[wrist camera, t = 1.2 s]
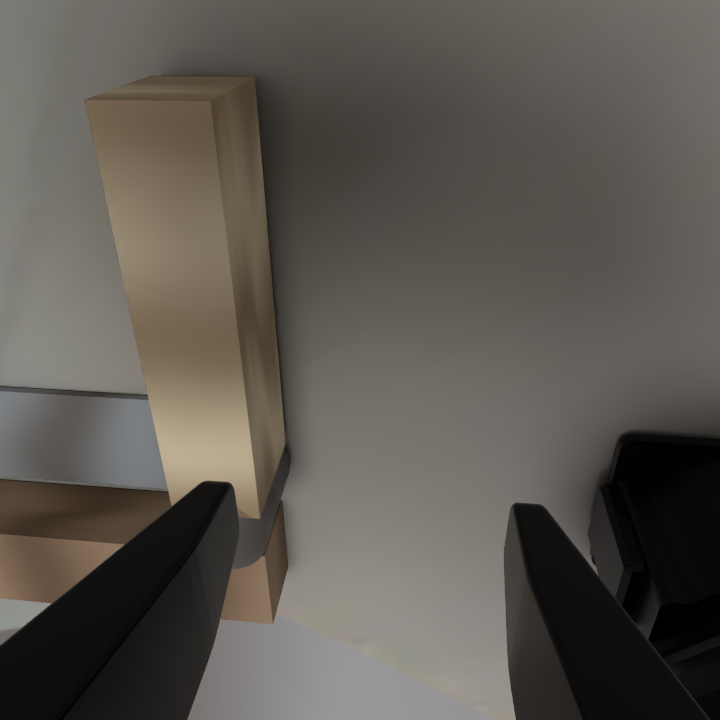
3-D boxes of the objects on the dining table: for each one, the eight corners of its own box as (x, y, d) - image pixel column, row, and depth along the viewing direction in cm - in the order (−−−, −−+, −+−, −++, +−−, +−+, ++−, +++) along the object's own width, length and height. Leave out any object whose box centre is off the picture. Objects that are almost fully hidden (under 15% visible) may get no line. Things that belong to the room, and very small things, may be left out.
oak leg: (292, 494, 26) (269, 573, 23) (215, 488, 26) (181, 565, 23) (258, 76, 18) (214, 101, 15) (148, 75, 18) (80, 99, 15)
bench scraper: (273, 403, 24) (252, 453, 22) (288, 566, 29) (272, 623, 27) (-161, 376, 26) (-226, 420, 24) (-81, 535, 31) (-129, 585, 28)
